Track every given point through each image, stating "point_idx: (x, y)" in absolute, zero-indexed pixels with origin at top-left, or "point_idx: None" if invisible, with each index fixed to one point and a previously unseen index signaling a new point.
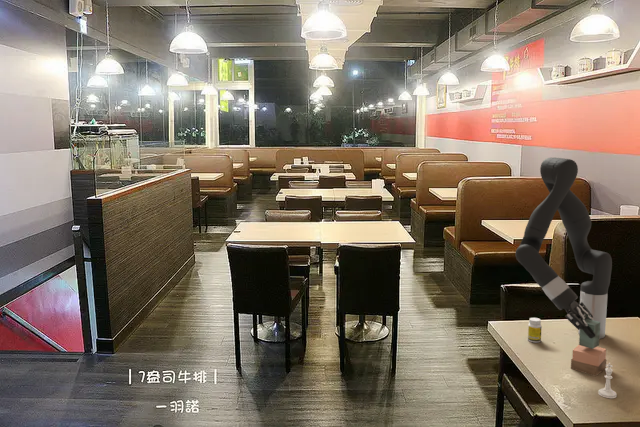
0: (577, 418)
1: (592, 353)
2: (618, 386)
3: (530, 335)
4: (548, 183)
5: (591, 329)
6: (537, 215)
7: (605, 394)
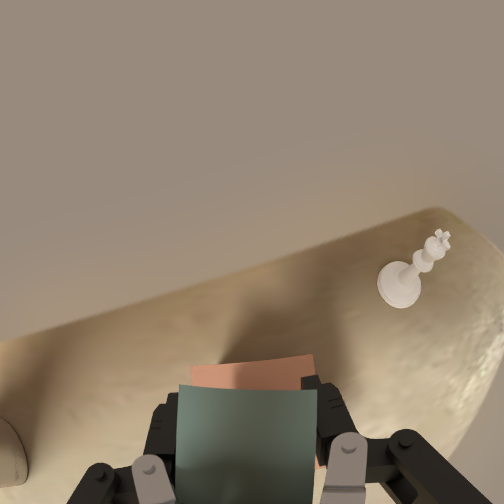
0: None
1: (300, 389)
2: (326, 285)
3: None
4: None
5: (317, 407)
6: None
7: (419, 278)
